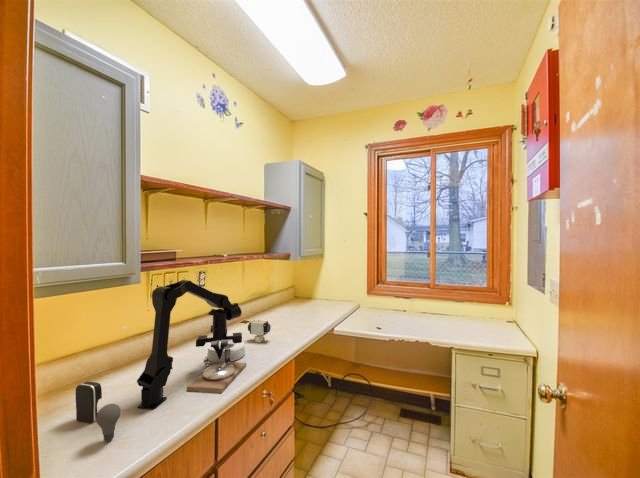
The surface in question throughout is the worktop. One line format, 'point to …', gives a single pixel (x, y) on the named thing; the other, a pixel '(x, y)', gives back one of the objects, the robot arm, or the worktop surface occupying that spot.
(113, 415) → the light bulb
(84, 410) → the battery charger
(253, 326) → the pneumatic valve
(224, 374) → the metal disc with handle
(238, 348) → the cable
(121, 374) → the worktop surface
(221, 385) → the board
